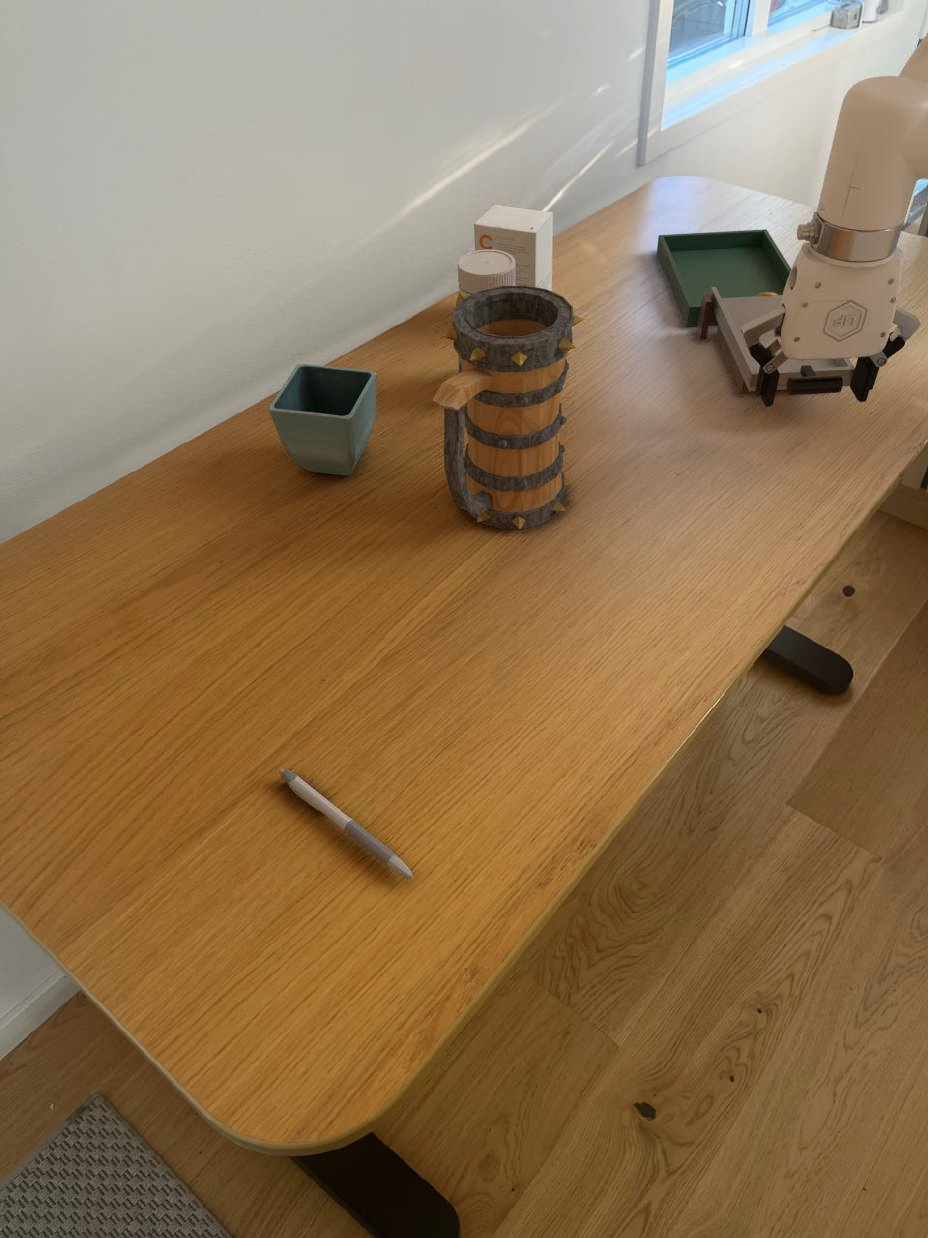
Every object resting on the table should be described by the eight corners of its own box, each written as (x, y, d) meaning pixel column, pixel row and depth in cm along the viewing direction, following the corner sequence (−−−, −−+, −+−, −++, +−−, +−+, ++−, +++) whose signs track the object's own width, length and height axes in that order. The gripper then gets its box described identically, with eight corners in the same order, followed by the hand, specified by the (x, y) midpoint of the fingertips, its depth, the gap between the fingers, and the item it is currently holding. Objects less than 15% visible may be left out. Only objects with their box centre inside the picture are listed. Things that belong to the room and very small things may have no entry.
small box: (551, 312, 120) (554, 211, 110) (534, 335, 116) (536, 232, 106) (494, 302, 122) (493, 202, 113) (476, 324, 118) (472, 223, 109)
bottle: (508, 405, 105) (508, 279, 94) (451, 396, 106) (444, 272, 96) (525, 374, 109) (527, 251, 98) (470, 366, 111) (465, 244, 100)
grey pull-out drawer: (863, 407, 96) (873, 379, 93) (758, 413, 96) (765, 384, 93) (797, 298, 112) (804, 271, 110) (708, 303, 112) (712, 276, 110)
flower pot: (361, 491, 95) (350, 417, 88) (282, 481, 96) (266, 408, 90) (386, 442, 101) (377, 370, 94) (311, 434, 102) (297, 362, 96)
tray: (806, 320, 115) (811, 300, 113) (686, 327, 116) (689, 306, 114) (762, 247, 130) (766, 228, 128) (656, 253, 130) (658, 234, 128)
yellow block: (781, 297, 113) (782, 294, 113) (766, 294, 112) (767, 290, 112) (749, 306, 118) (749, 303, 118) (734, 302, 117) (734, 299, 117)
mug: (600, 485, 94) (615, 301, 79) (505, 581, 85) (503, 393, 70) (497, 444, 99) (494, 266, 85) (398, 530, 90) (375, 347, 76)
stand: (838, 388, 104) (849, 349, 101) (722, 394, 105) (730, 355, 101) (801, 326, 115) (810, 288, 111) (696, 331, 115) (702, 293, 111)
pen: (287, 772, 71) (284, 762, 70) (418, 879, 64) (417, 869, 63) (277, 781, 70) (274, 770, 69) (408, 889, 63) (407, 879, 62)
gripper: (770, 257, 81) (737, 422, 93) (966, 247, 81) (907, 413, 93) (749, 222, 86) (720, 382, 98) (933, 212, 86) (881, 374, 98)
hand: (811, 397), depth 95 cm, fingers open, 9 cm apart
